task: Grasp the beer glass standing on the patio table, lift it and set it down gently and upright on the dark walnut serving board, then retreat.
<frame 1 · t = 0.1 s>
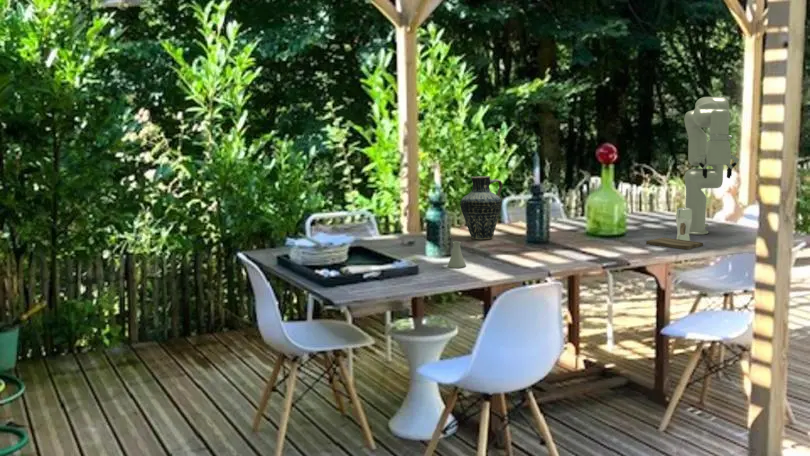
hand: (716, 178, 356), 31 cm above the table, tool pointing down, fingers open, 9 cm apart
serving board: (674, 245, 371), on the table
jug: (481, 238, 394), on the table
flask: (456, 267, 326), on the table
beer glass: (683, 240, 383), on the table
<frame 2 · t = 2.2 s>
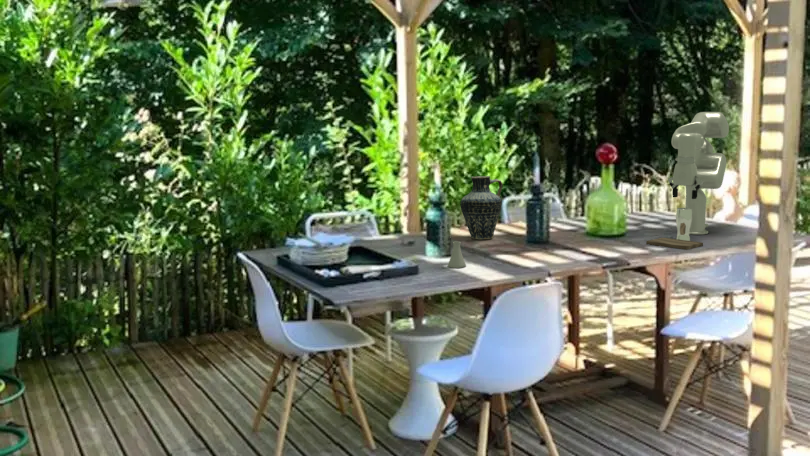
hand: (684, 198, 379), 20 cm above the table, tool pointing down, fingers open, 9 cm apart
nothing on the table moved.
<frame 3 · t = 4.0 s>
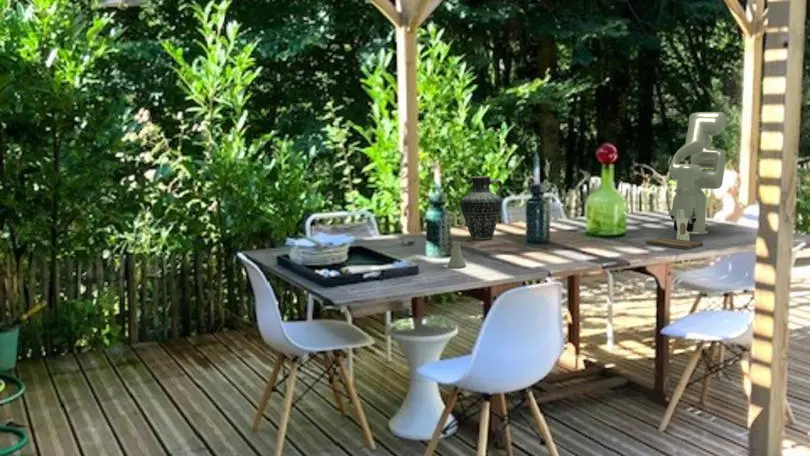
hand: (683, 230, 382), 5 cm above the table, tool pointing down, fingers closed on beer glass, 6 cm apart
beer glass: (683, 240, 383), on the table, touching gripper
everything else where it was.
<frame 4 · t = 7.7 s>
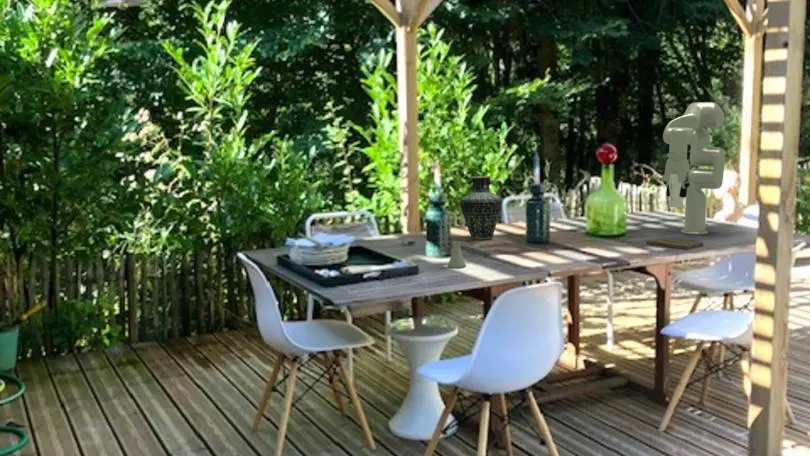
hand: (676, 196, 368), 22 cm above the table, tool pointing down, fingers closed on beer glass, 6 cm apart
beer glass: (675, 207, 368), point 17 cm above the table, touching gripper
everything else where it was.
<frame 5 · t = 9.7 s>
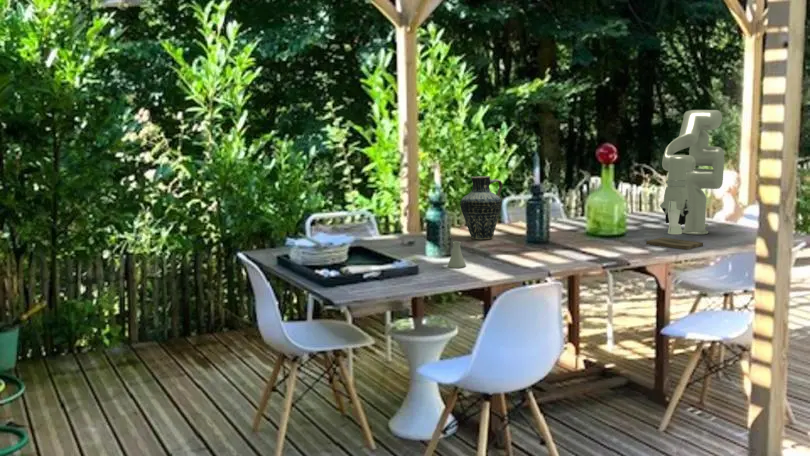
hand: (675, 223, 369), 10 cm above the table, tool pointing down, fingers closed on beer glass, 6 cm apart
beer glass: (674, 234, 370), point 5 cm above the table, touching gripper
everything else where it was.
when the fingers open (7 cm above the table, at t = 11.2 s): beer glass drops 1 cm, resting on serving board.
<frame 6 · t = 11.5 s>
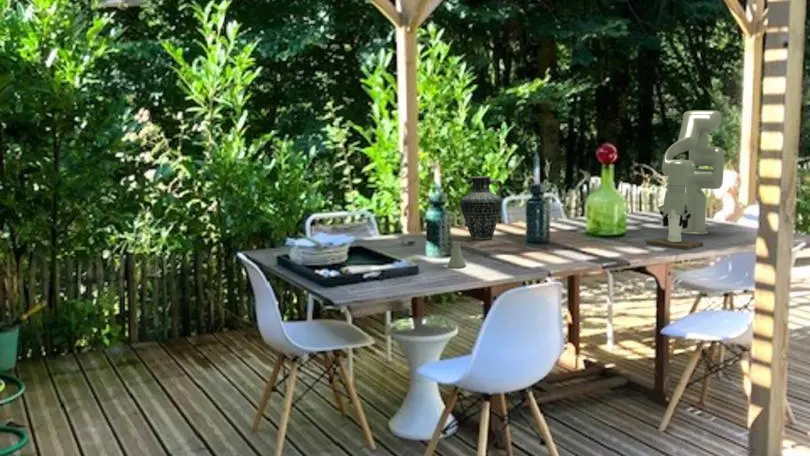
hand: (675, 227, 370), 8 cm above the table, tool pointing down, fingers open, 9 cm apart
beer glass: (674, 241, 371), point 1 cm above the table, touching serving board
everything else where it was.
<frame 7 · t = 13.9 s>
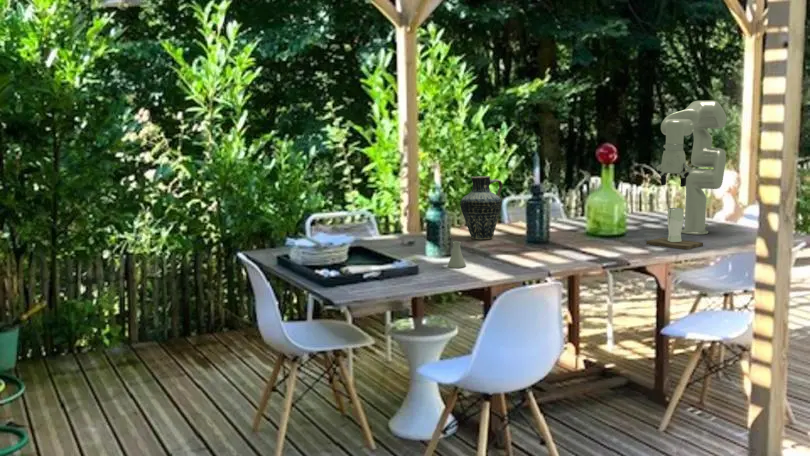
hand: (673, 185, 371), 26 cm above the table, tool pointing down, fingers open, 9 cm apart
nothing on the table moved.
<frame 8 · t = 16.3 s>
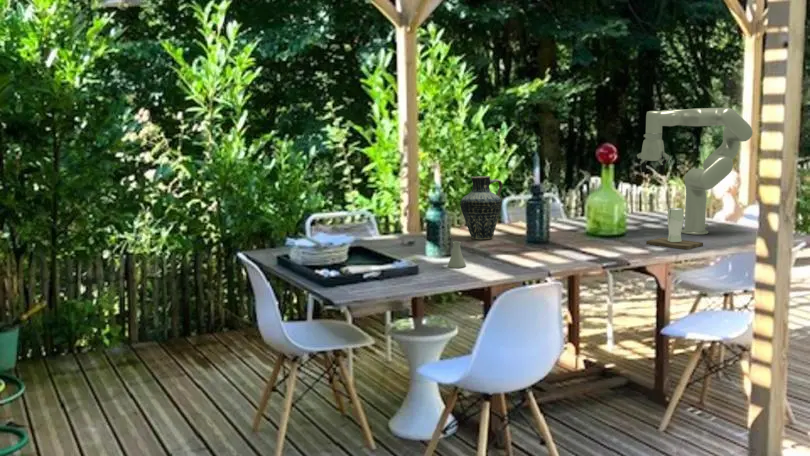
hand: (652, 172, 396), 30 cm above the table, tool pointing down, fingers open, 9 cm apart
nothing on the table moved.
at the end: beer glass inside the target area on the serving board (0.6 cm from its centre), point 1.3 cm above the serving board's base; beer glass tilted 0°; the gripper is holding nothing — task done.
